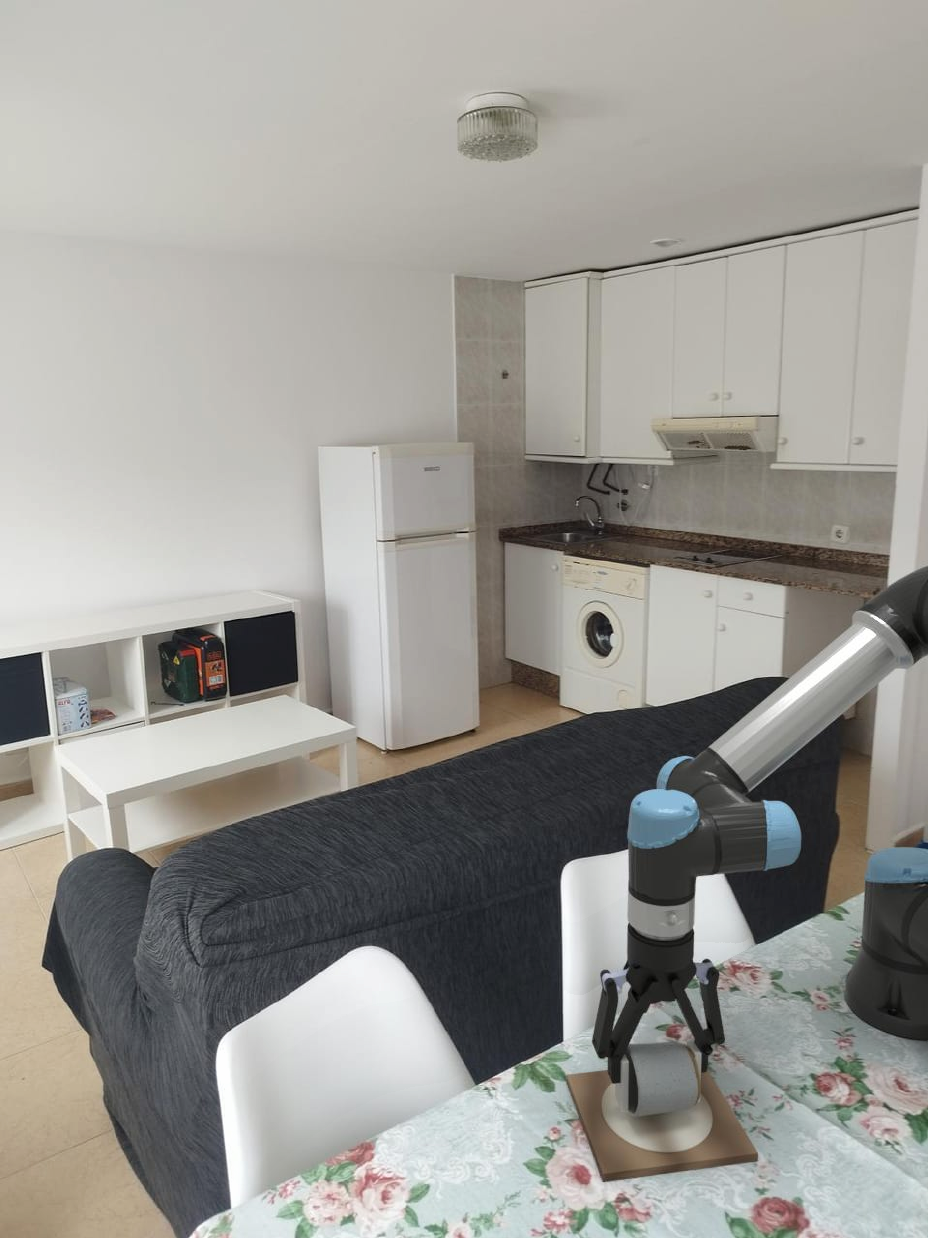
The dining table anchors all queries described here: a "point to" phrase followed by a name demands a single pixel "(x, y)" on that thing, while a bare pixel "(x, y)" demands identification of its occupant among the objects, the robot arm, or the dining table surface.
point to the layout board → (657, 1131)
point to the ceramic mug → (661, 1078)
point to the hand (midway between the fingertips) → (657, 1099)
